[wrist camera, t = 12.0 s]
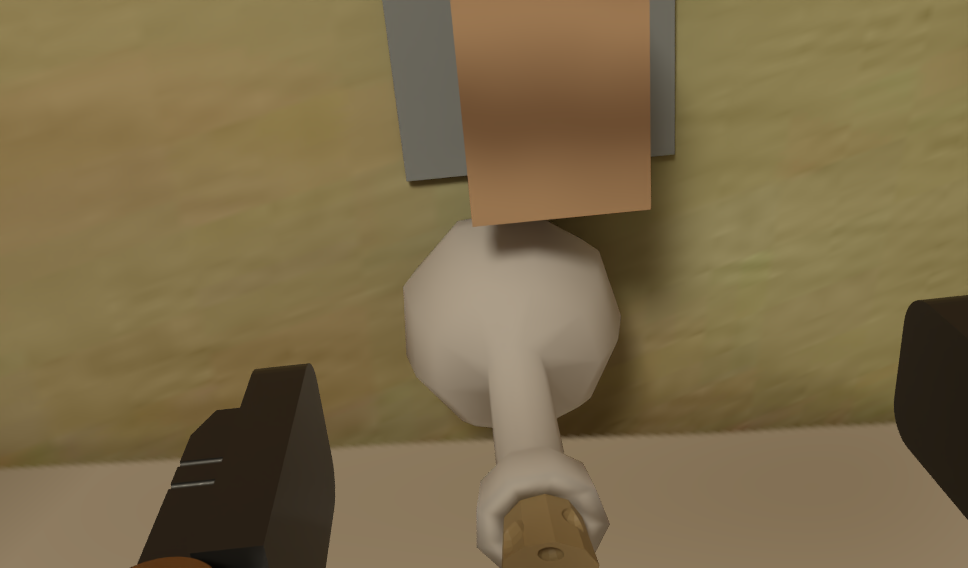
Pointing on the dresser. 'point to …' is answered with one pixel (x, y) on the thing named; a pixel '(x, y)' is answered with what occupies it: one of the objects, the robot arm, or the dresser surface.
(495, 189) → the small wooden bench
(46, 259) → the dresser surface
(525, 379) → the potion bottle
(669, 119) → the mat
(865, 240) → the dresser surface
